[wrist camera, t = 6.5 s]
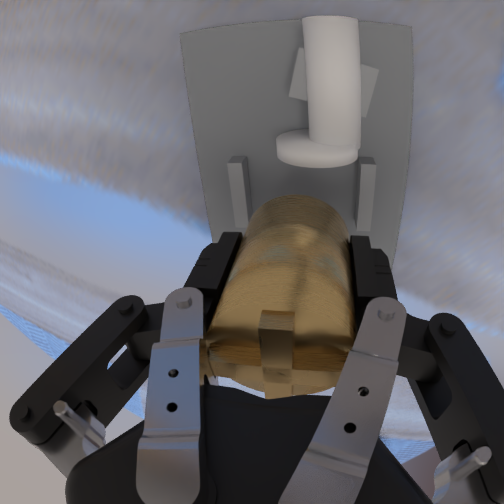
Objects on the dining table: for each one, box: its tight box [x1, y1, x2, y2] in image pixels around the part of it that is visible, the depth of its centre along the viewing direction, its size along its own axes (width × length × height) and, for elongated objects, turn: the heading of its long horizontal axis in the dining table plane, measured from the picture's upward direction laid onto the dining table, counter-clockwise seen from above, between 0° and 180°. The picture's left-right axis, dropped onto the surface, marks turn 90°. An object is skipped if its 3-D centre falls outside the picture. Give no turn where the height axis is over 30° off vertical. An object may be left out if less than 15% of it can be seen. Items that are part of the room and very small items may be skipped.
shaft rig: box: [180, 16, 413, 270], centre depth 17 cm, size 19×12×5 cm, turn 5°
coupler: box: [206, 194, 357, 399], centre depth 11 cm, size 4×4×7 cm
